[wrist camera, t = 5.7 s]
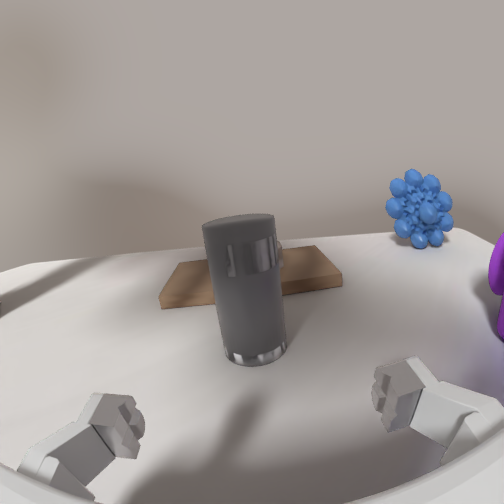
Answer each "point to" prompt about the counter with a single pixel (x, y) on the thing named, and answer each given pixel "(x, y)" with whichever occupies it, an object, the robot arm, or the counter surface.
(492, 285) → the toy camera
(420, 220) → the blue lumpy cluster
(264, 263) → the grey rounded cylinder
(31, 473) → the robot arm
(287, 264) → the mount
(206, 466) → the counter surface
